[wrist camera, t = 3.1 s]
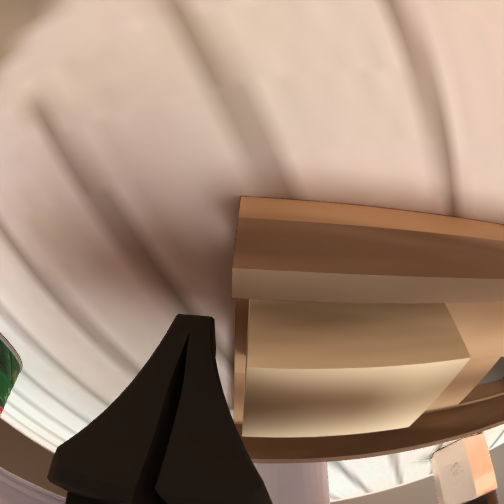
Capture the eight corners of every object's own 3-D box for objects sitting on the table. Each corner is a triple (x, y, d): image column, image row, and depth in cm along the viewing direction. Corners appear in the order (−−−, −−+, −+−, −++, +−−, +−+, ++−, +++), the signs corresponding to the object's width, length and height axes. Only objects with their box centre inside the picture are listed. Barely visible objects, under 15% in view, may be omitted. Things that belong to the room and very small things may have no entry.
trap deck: (510, 383, 21) (523, 415, 17) (234, 410, 20) (231, 462, 17) (603, 245, 11) (631, 279, 8) (241, 196, 11) (232, 268, 8)
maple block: (389, 355, 14) (408, 427, 11) (245, 355, 14) (241, 436, 11) (430, 277, 11) (470, 357, 8) (251, 269, 11) (247, 367, 8)
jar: (476, 429, 28) (495, 506, 18) (488, 434, 30) (505, 500, 21) (419, 458, 32) (431, 531, 22) (439, 460, 35) (450, 523, 25)
